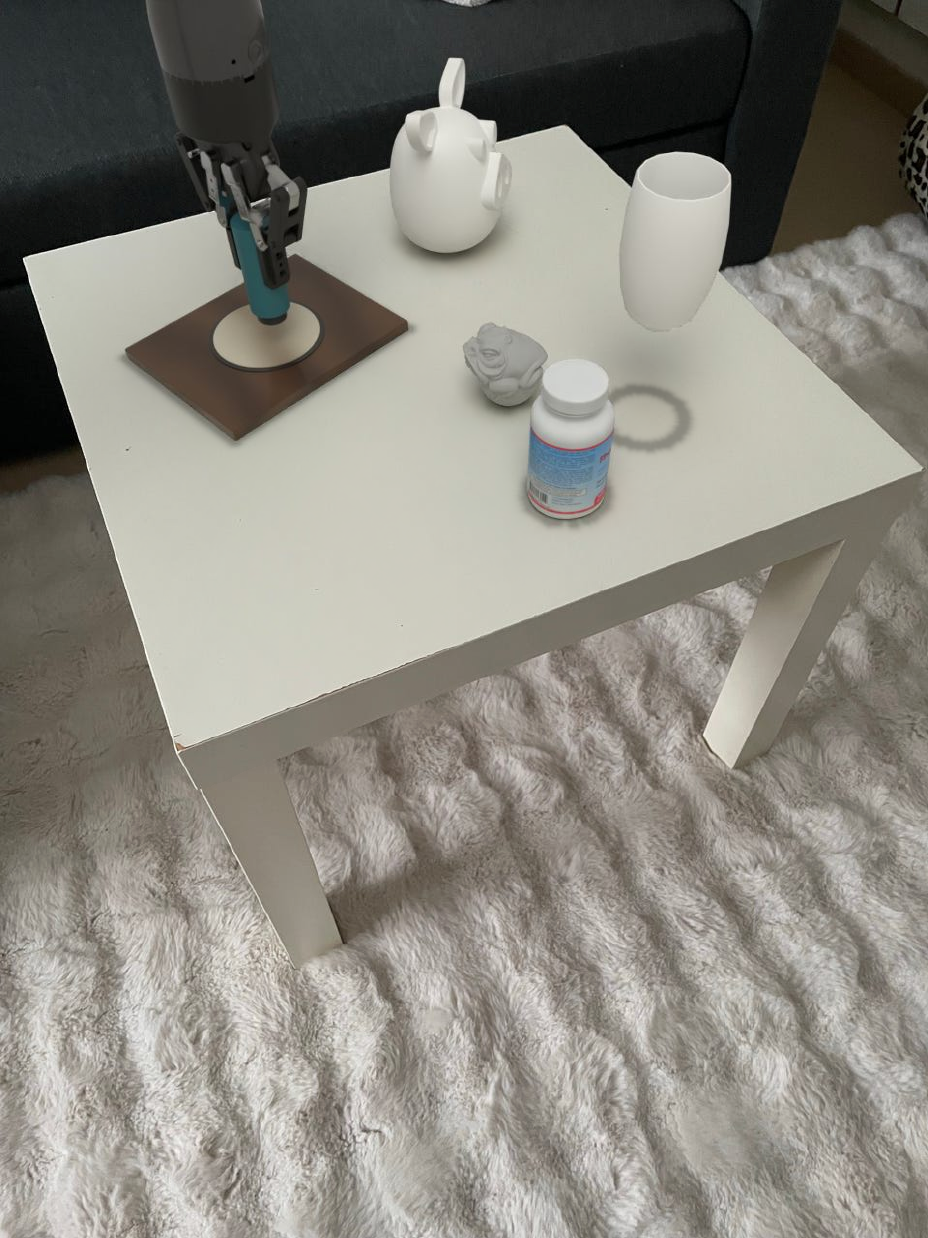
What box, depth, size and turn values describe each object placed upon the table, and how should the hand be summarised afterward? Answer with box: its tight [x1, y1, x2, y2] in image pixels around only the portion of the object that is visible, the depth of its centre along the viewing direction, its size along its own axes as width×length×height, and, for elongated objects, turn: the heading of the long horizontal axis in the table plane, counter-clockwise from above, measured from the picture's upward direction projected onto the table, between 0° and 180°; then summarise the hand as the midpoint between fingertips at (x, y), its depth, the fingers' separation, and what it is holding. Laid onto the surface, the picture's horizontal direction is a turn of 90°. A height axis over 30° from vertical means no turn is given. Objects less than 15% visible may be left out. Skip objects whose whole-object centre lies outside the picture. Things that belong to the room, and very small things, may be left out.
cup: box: [618, 151, 732, 333], centre depth 69 cm, size 7×7×21 cm
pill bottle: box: [526, 358, 616, 520], centre depth 68 cm, size 6×6×11 cm
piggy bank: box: [389, 57, 513, 254], centre depth 87 cm, size 12×12×15 cm
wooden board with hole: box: [124, 253, 409, 441], centre depth 84 cm, size 20×16×1 cm
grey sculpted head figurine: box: [462, 321, 549, 407], centre depth 76 cm, size 6×7×7 cm
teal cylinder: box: [230, 212, 290, 326], centre depth 76 cm, size 3×3×9 cm
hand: (263, 273), depth 77 cm, fingers closed on teal cylinder, 3 cm apart
